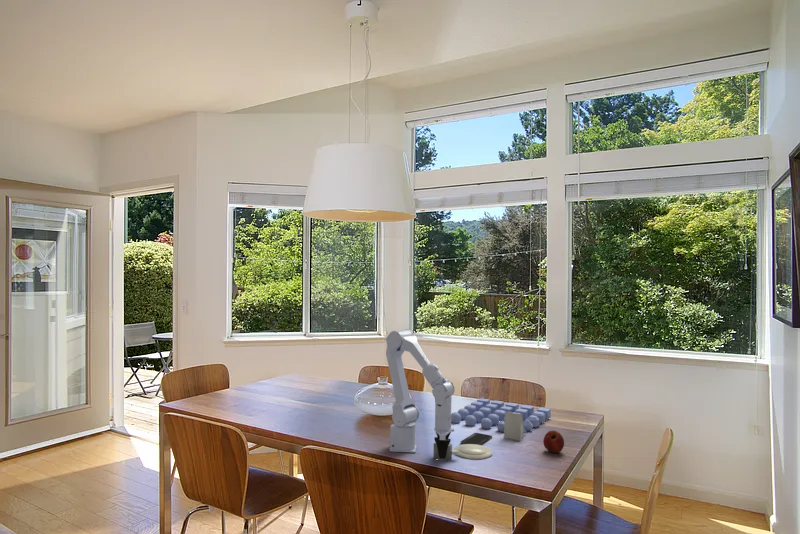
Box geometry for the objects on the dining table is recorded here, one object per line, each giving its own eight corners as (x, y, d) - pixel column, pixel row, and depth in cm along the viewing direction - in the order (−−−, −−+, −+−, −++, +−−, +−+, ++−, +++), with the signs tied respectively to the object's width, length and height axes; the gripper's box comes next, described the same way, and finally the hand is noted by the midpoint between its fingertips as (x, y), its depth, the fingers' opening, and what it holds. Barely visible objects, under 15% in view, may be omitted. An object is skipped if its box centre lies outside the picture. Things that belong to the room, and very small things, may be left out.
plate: (453, 458, 183) (453, 454, 183) (453, 445, 197) (453, 442, 197) (493, 460, 181) (493, 456, 181) (490, 447, 195) (490, 444, 195)
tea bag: (520, 440, 204) (520, 415, 204) (504, 437, 207) (504, 412, 207) (523, 438, 207) (523, 413, 207) (506, 435, 210) (507, 410, 210)
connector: (433, 459, 181) (433, 445, 181) (433, 456, 184) (433, 442, 184) (457, 461, 180) (457, 446, 180) (457, 457, 183) (457, 443, 183)
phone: (459, 442, 198) (475, 432, 211) (459, 445, 198) (475, 435, 211) (478, 446, 194) (493, 435, 207) (478, 449, 194) (493, 438, 207)
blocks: (550, 419, 237) (550, 408, 237) (524, 438, 208) (524, 426, 208) (480, 407, 256) (481, 398, 256) (447, 423, 228) (448, 412, 228)
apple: (540, 452, 190) (540, 431, 190) (547, 447, 196) (547, 426, 196) (560, 457, 186) (560, 434, 186) (566, 451, 192) (566, 429, 192)
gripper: (454, 422, 175) (454, 462, 174) (454, 411, 189) (453, 448, 189) (433, 421, 175) (433, 461, 175) (435, 410, 190) (434, 447, 190)
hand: (442, 454), depth 182 cm, fingers open, 7 cm apart
